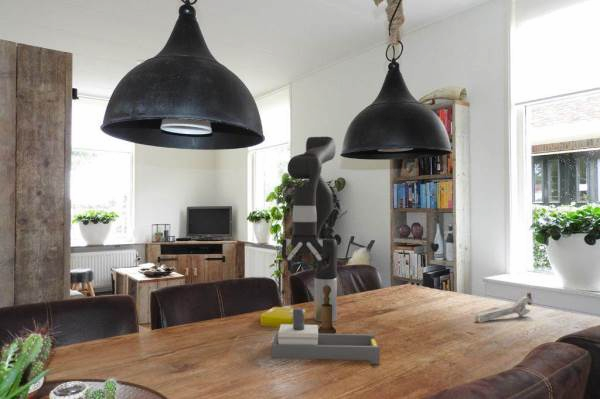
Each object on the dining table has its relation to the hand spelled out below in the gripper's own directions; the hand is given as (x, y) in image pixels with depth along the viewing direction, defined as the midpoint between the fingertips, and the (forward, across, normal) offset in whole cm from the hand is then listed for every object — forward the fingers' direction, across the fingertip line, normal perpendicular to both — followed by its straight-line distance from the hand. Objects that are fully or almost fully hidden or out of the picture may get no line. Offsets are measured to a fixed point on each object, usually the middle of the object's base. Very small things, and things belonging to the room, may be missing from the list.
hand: (304, 272), depth 130 cm
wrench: (+27, -84, -45) cm, 99 cm away
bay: (+26, -7, 0) cm, 27 cm away
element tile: (+27, +8, -38) cm, 47 cm away
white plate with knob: (+25, +2, 0) cm, 25 cm away
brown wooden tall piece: (+26, -8, -20) cm, 34 cm away
